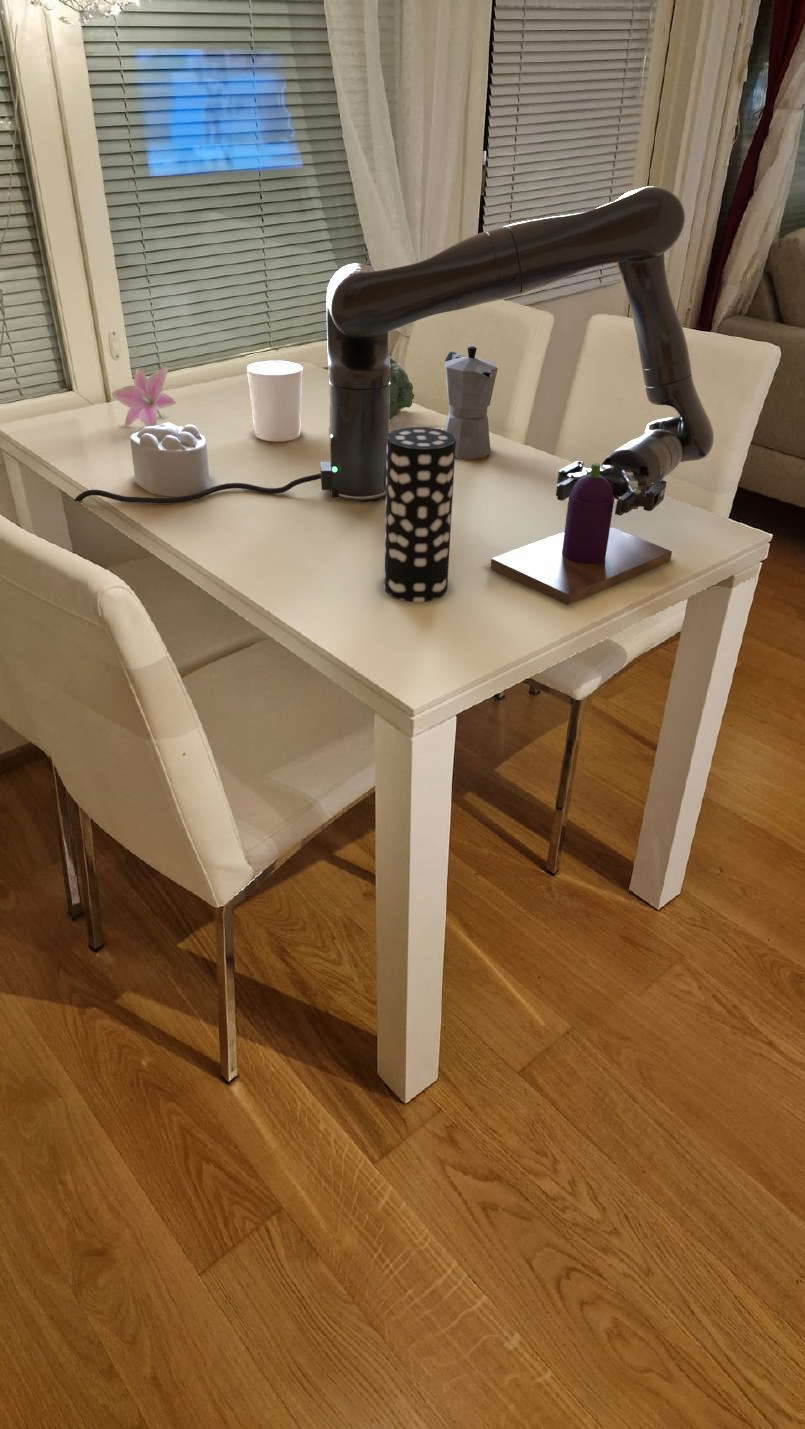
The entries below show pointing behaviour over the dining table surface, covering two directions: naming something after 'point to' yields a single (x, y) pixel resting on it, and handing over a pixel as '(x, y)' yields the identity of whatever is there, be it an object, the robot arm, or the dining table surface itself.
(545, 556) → the cutting board
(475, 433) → the coffeepot
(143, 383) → the lily
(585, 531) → the eggplant
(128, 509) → the dining table surface
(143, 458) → the lumpy-topped squat cylinder
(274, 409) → the candle holder
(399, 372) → the vegetable
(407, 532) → the spotted tube
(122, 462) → the dining table surface
